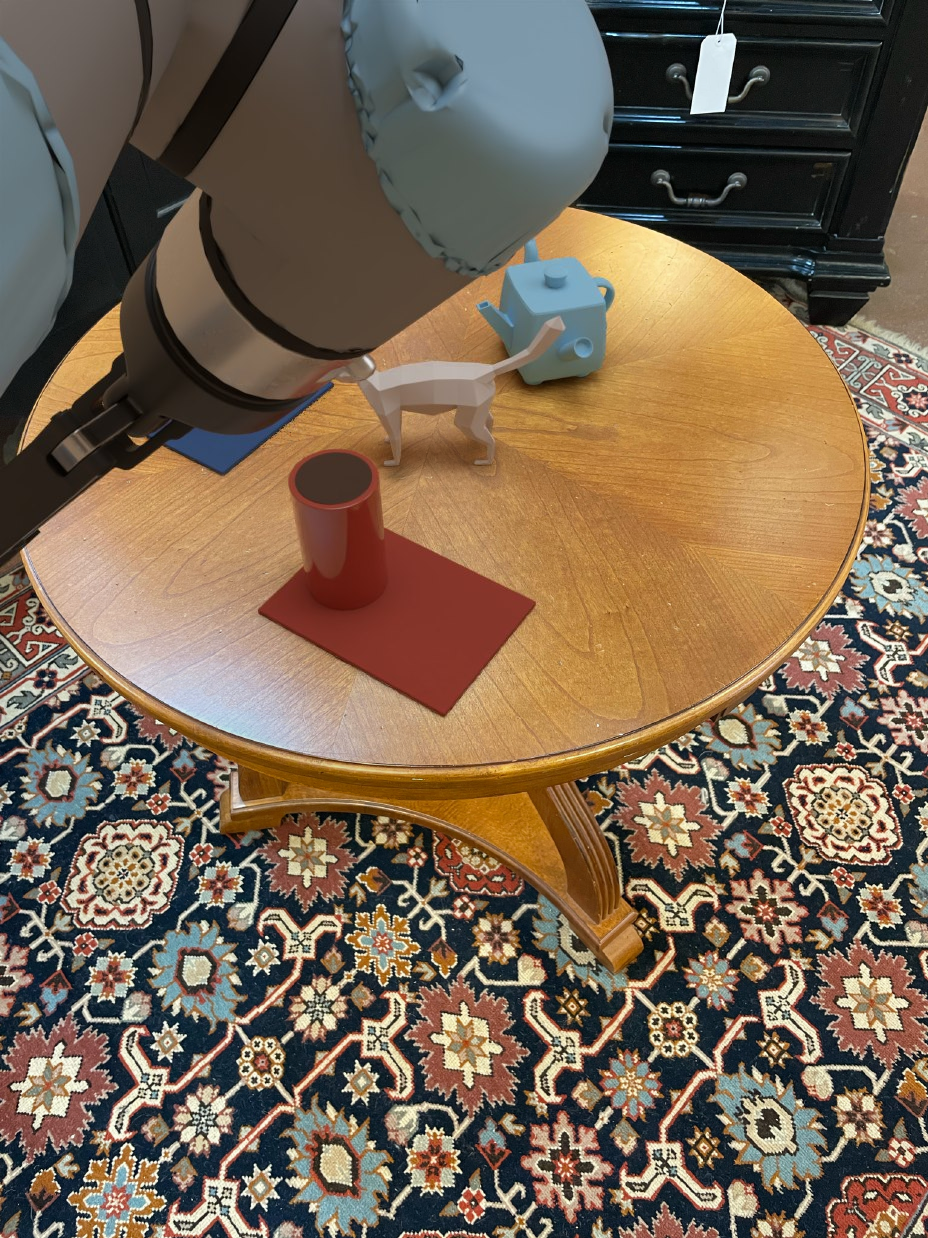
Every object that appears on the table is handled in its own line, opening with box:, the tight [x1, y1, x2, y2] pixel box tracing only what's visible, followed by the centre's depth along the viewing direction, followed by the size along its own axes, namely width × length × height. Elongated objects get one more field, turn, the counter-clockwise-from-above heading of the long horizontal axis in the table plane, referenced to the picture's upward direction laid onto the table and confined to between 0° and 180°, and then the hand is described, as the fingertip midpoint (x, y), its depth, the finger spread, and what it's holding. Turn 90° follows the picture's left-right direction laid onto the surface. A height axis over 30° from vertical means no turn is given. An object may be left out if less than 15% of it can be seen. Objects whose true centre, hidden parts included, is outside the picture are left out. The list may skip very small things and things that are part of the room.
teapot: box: [475, 237, 616, 386], centre depth 94 cm, size 18×14×10 cm
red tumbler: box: [287, 448, 388, 610], centre depth 74 cm, size 7×7×11 cm
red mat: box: [257, 527, 537, 718], centre depth 76 cm, size 18×13×1 cm
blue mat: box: [145, 381, 335, 476], centre depth 93 cm, size 16×16×1 cm
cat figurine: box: [334, 316, 566, 467], centre depth 83 cm, size 4×20×14 cm, turn 92°
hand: (86, 469), depth 51 cm, fingers open, 13 cm apart
